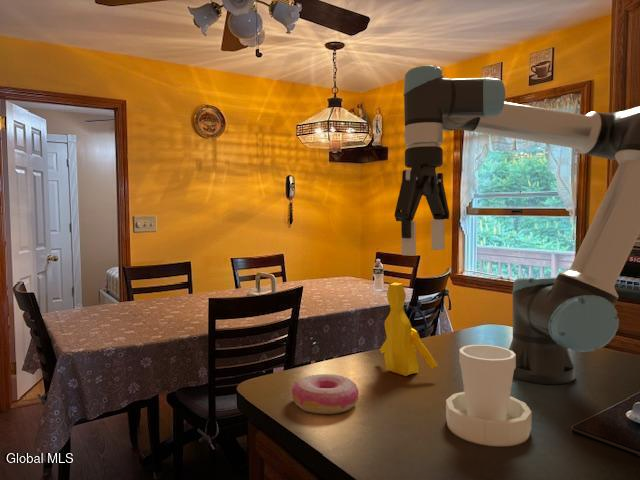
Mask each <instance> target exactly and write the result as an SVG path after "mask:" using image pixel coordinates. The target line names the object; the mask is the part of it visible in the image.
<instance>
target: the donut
mask: <svg viewBox="0 0 640 480" xmlns="http://www.w3.org/2000/svg"><path fill="white" fill-rule="evenodd" d="M291 392H292V400H293V402H294V403H295V405H296V406H297V407H298V408H300V410H301V409H302V410H303V411H305V412H308V413H311V414H316V415H318V414H319V415H335V414H341V413H344V412H347V411H349V410H351V409H352V408H353V407H355V405H356V404H357V402H358V400H359V389H358V387H357V384H356V383H355V382H354V381H353V380H351V378H348V377H346V376H344V375H338V374H332V373H330V374H329V373H327V374H326V373H322V374H321V373H320V374H314V375H308V376H305V377H302V378H300V379H299V380H298V381H297V382H295V383H294V385H293V386H292V389H291Z"/></svg>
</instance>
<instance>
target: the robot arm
mask: <svg viewBox="0 0 640 480" xmlns="http://www.w3.org/2000/svg"><path fill="white" fill-rule="evenodd" d="M403 104H404V106H403V107H404V108H403V109H404V110H403V113H404V114H403V115H404V133H403V137H404V146H405V147H406V149H405V150H404V167H405V168H406V169H403V170H402V178H401V185H400V189H399V193H398V197H397V202H396V206H395V210H394V213H393V214H394V216H393V217H394V218H395V221H396V222H400V225H401V226H400V228H401V229H400V231H401V232H400V233H401V234H400V235H401V238H400V239H401V242H400V243H401V247H400V248H401V249H400V250H401V256H411V257H412V256H417V230H416V229H417V227H416V226H417V225H416V224H417V222H416V221H414V219H415V216H416V213H417V210H418V208H419V204H420V202H421V200H422V197H425V199H426V203H427V205H428V207H429V210H430V213H431V215H432V218H433V219H431V221H430V226H431V227H430V233H431V235H430V236H431V237H430V238H431V239H430V241H431V243H430V244H431V248H430V249H431V250H433V251H445V249H446V247H445V244H446V243H445V242H446V241H445V238H446V237H445V236H446V235H445V234H446V233H445V231H446V229H445V223H446V222H445V220H449V219H450V210H449V206H448V199H447V194H446V191H445V186H444V175H443V172H437V171H436V168H440V167H441V166H443V164H444V160H443V159H444V153H443V152H444V151H443V148H442V147H441V146H442V145H443V144H444V131H445V132H452V131H456V130H460V131H467V132H473V133H481V134H485V135H486V134H487V135H492V136H493V135H494V136H497V137H498V136H500V137H505V138H509V139H510V138H511V139H518V140H522V141H529V142H535V143H540V144H541V143H542V144H547V145H551V146H552V145H554V146H559V147H564V148H565V147H566V148H571V149H575V151H576V152H577V153H578V154H579V155H585V156H591V157H595V158H596V157H597V158H603V159H605V160H606V159H607V160H611V161H612V160H613V161H616V162H617V164H618V167H617V169H616V171H615V172H614V175H613V177H612V179H611V181H610V184H609V186H608V188H607V189H606V192H605V194H604V196H603V198H602V200H601V203H600V204H599V207H598V209H597V211H596V213H595V215H594V217H593V220H592V221H591V223H590V225H589V228H588V229H587V232H586V234H585V235H584V236H585V237H584V238H583V240H582V243H581V245H580V246H579V249H578V251H577V253H576V255H575V257H574V259H573V261H572V263H571V265H570V267H569V269H567V270H564V271H561V272H559V273H558V274H557V276H556V277H550V276H549V277H546V276H545V277H518V278H516V279H515V280H514V281H513V286H512V292H511V295H512V339H511V342H510V345H509V348H508V349H509V350H511V351H513V352H514V353H515V355H516V368H515V369H514V374H513V379H517V380H520V381H524V382H527V383H528V382H529V383H533V384H540V385H541V384H542V385H563V384H568V383H571V382H573V381H574V380H575V379H576V376H575V371H576V368H575V365H574V362H573V359H572V357H571V353H570V350H572V351H576V352H580V353H581V352H582V353H586V352H589V353H590V352H594V351H596V350H599V349H602V348H603V347H605V346H607V344H610V342H611V341H612V340H613V339H614V337H615V335H616V333H617V331H618V329H619V324H620V319H619V317H618V311H617V309H616V308H615V306H616V304H617V301H618V299H619V294H618V292H617V290H616V289H615V286H616V283H617V281H618V279H619V277H620V275H621V272H622V271H623V268H624V266H625V265H626V262H627V260H628V258H629V256H630V255H631V252H632V251H633V248H634V246H635V243H636V241H637V240H638V238H639V235H640V105H639V106H635V107H632V108H628V109H625V110H622V111H621V110H620V111H615V112H614V111H613V112H599V111H590V112H588V113H586V114H581V113H575V112H568V111H562V110H557V109H550V108H544V107H537V106H532V105H528V104H527V105H525V104H519V103H513V102H509V101H508V102H507V101H506V87H505V83H504V82H503V81H502V80H501V79H500V78H496V77H495V78H493V77H485V76H484V77H469V78H468V77H467V78H466V77H464V78H463V77H462V78H449V77H448V78H447V77H444V74H443V69H442V68H440V67H439V66H435V65H434V66H433V65H420V66H419V65H418V66H416V67H413V68H411V69H410V68H409V70H407V72H406V73H405V75H404V86H403ZM407 168H408V169H407ZM569 349H570V350H569Z"/></svg>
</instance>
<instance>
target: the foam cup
mask: <svg viewBox="0 0 640 480" xmlns="http://www.w3.org/2000/svg"><path fill="white" fill-rule="evenodd" d="M458 351H459V355H458V356H459V361H458V363H459V365H460V368H461V369H460V370H461V377H462V383H463V392H464V394H465V401H466V409H467V415H468V416H472V417H476V418H480V419H484V420H499V421H506V419H507V412H508V406H509V399H510V396H511V391H512V386H513V379H514V377H513V374H514V369H515V368H516V355H515V353H514V352H513V351H511V350H509V348H507V347H503V346H502V347H501V346H497V345H491V344H470V345H465V346H462V347H461V348H459V350H458Z"/></svg>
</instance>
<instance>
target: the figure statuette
mask: <svg viewBox="0 0 640 480" xmlns="http://www.w3.org/2000/svg"><path fill="white" fill-rule="evenodd" d="M406 298H407V297H406V291H405V288H404V284H403V283H400V282H393V283H390V284H389V285H388V287H387V292H386V299H387V302H388V305H389V308H390V312H389V314H388V315H387V317H386V319H385V320H384V330H385V335H386V339H385V341H384V343H383V344H382V346H381V347H380V348H379V351H380V353H381V354H383V355H384V363H385V367H386V369H387V371H389V372H392V373H395V374H398V375H401V376H404V377H407V376H409V375H412V374H418V373H419V363H418V357H417V351H416V350H418V352H419V354H421V356H422V358H423V359H424V361H425V362H426V363H427V364H428V365H429V367H430V369H431V370H432V369H434V368H436V367H438V363H437V362H436V360H435V359H434V358H433V356H432V355H431V353H430V352H429V349H428V348H427V347H426V346H425V344H424V342H423V341H422V339H421V337H420V335H419V332H418V331H417V330H416V329H415V328H414V327H413V326H412V324H411V322H410V319H409V318H408V316H407V313H405V310H404V307H405V302H406Z"/></svg>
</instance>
